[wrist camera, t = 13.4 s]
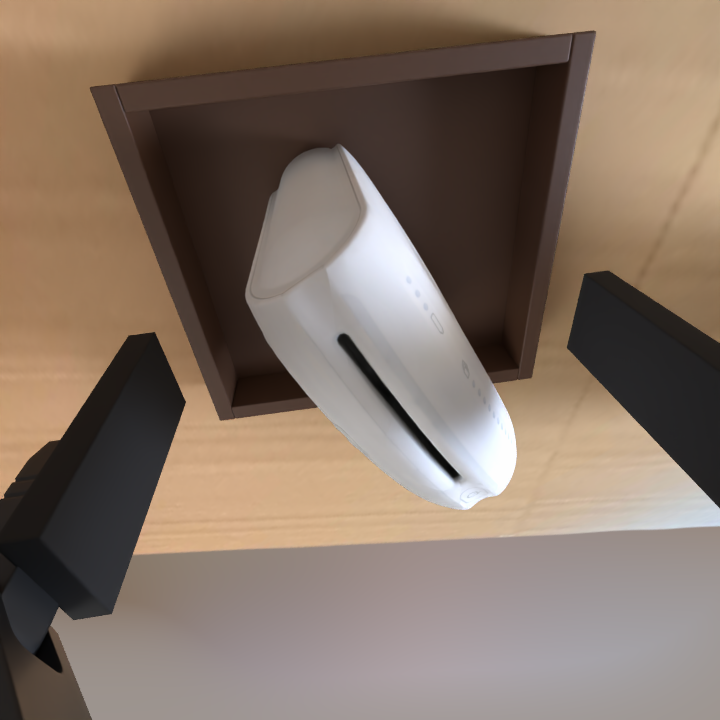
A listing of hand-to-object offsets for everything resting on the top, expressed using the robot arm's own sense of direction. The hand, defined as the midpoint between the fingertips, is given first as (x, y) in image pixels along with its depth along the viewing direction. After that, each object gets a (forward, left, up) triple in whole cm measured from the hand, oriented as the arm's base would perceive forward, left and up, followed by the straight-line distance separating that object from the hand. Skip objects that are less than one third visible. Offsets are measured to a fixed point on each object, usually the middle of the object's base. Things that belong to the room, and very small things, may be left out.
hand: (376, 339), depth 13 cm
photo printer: (0, 0, -8) cm, 8 cm away
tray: (0, 0, -9) cm, 9 cm away
